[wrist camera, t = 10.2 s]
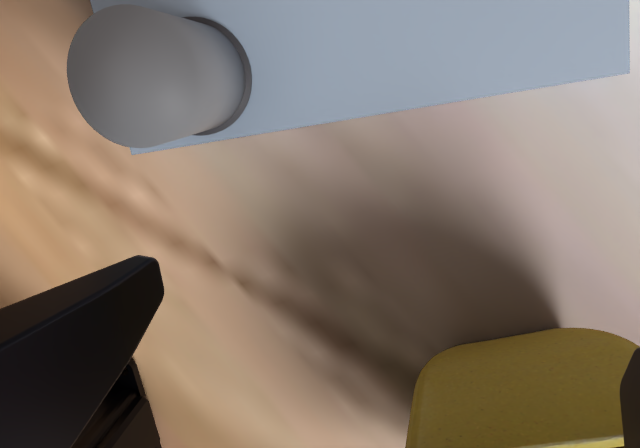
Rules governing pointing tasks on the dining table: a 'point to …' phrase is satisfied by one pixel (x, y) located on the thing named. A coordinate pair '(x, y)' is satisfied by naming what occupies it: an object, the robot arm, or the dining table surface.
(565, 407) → the flower pot
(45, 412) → the robot arm
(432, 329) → the dining table surface
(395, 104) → the flange plate
